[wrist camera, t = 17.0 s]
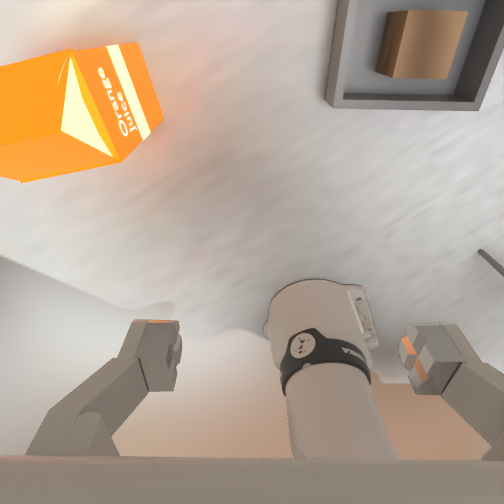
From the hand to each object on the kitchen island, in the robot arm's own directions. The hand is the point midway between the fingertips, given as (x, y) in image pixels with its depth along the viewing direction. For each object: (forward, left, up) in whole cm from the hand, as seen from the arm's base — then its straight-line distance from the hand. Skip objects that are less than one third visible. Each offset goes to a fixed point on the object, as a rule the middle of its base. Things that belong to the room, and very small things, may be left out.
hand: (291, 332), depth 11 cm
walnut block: (-2, -16, -31) cm, 34 cm away
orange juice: (+12, +12, -31) cm, 36 cm away
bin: (-2, -16, -31) cm, 35 cm away
